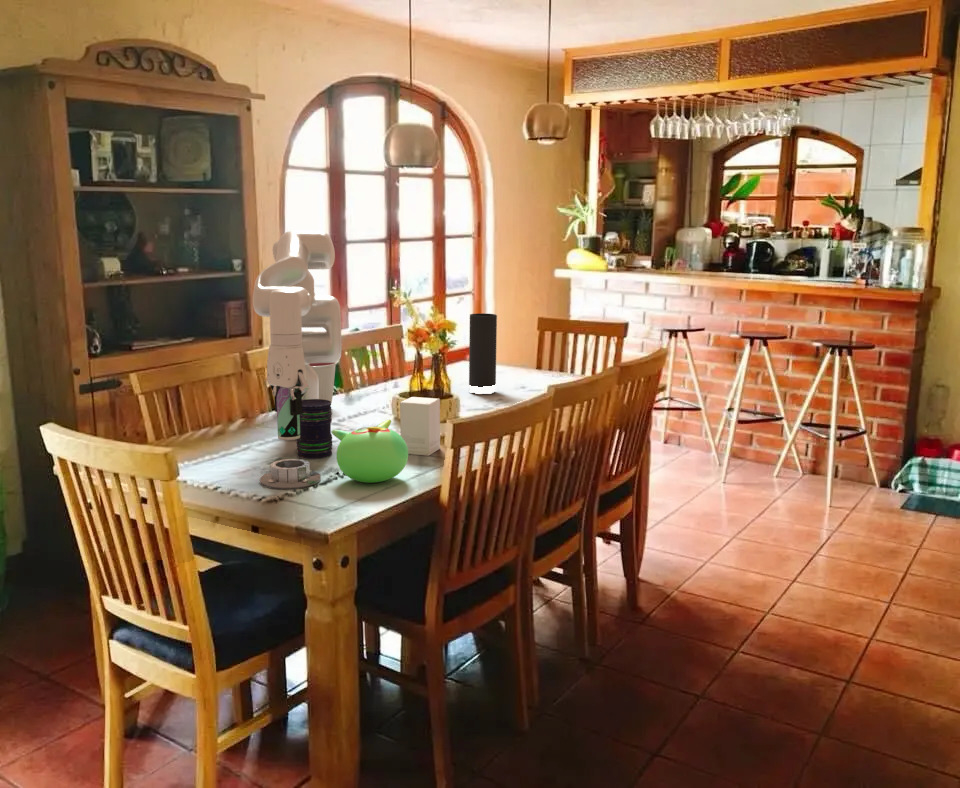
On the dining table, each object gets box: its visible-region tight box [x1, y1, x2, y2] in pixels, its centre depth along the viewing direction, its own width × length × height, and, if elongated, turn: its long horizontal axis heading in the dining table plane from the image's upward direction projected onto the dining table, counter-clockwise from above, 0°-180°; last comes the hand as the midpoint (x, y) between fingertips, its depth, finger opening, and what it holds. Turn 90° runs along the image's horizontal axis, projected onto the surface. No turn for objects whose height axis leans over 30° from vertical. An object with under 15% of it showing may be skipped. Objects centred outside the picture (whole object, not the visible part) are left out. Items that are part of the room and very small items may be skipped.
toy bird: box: [331, 419, 409, 484], centre depth 220 cm, size 18×17×15 cm
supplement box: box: [399, 396, 441, 457], centre depth 249 cm, size 9×9×15 cm
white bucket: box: [309, 361, 338, 404], centre depth 302 cm, size 18×18×21 cm
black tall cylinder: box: [468, 313, 498, 387], centre depth 334 cm, size 10×10×30 cm
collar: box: [259, 458, 322, 490], centre depth 220 cm, size 15×15×4 cm
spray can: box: [276, 372, 300, 441], centre depth 216 cm, size 6×6×20 cm
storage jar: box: [295, 399, 333, 460], centre depth 244 cm, size 10×10×15 cm
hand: (288, 412), depth 217 cm, fingers closed on spray can, 5 cm apart
